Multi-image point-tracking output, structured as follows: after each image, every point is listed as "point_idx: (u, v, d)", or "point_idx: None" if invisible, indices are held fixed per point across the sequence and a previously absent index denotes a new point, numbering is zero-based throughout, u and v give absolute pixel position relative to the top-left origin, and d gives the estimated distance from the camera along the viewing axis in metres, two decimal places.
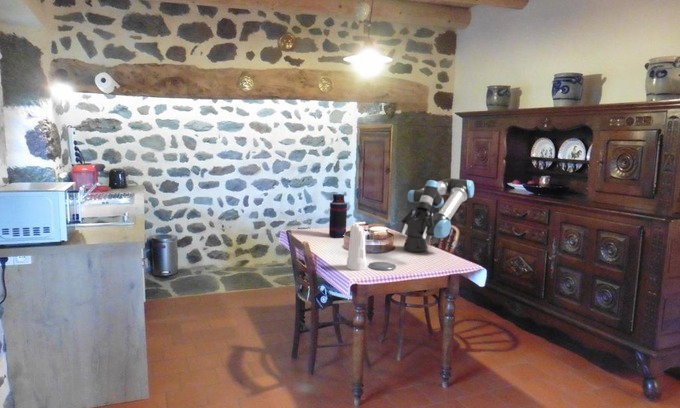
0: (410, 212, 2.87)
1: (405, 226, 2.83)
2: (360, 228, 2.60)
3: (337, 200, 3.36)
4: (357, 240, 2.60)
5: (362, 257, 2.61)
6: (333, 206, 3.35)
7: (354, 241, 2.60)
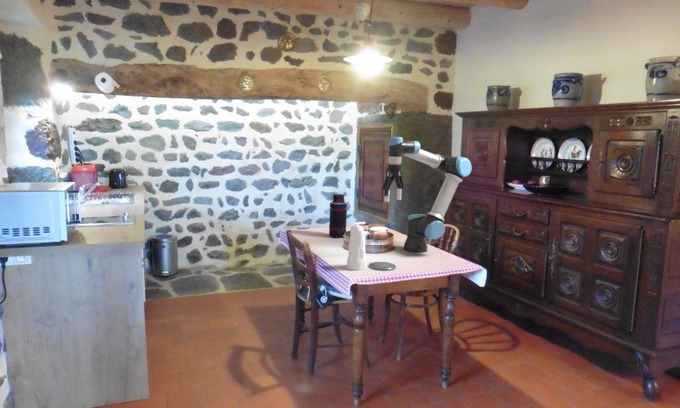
0: None
1: (397, 191, 2.86)
2: (360, 228, 2.60)
3: (337, 200, 3.36)
4: (357, 240, 2.60)
5: (362, 257, 2.61)
6: (333, 206, 3.35)
7: (354, 241, 2.60)
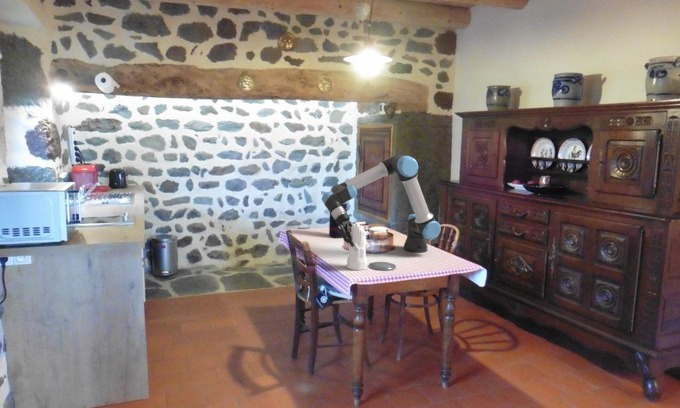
0: None
1: None
2: (361, 228, 2.60)
3: None
4: (357, 240, 2.60)
5: (362, 257, 2.61)
6: None
7: (354, 241, 2.60)
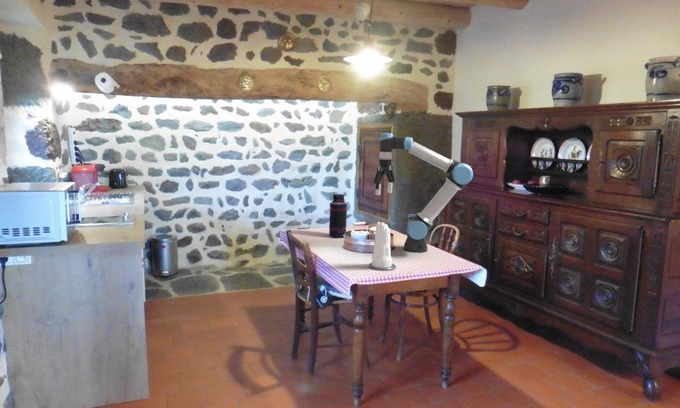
0: None
1: (388, 185, 3.01)
2: (385, 226, 2.63)
3: (337, 200, 3.36)
4: (383, 238, 2.63)
5: (387, 255, 2.64)
6: (333, 206, 3.35)
7: (380, 239, 2.63)
